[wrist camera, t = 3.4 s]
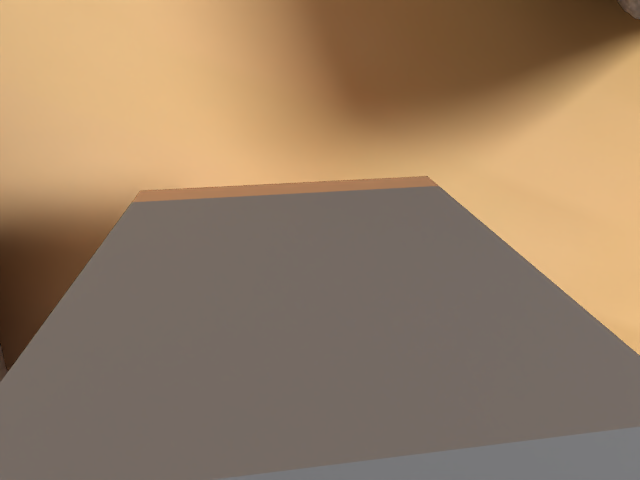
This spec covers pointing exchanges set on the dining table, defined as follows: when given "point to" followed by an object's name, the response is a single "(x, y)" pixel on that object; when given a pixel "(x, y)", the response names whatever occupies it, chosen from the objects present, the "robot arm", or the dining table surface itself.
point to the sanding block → (317, 349)
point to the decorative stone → (631, 7)
